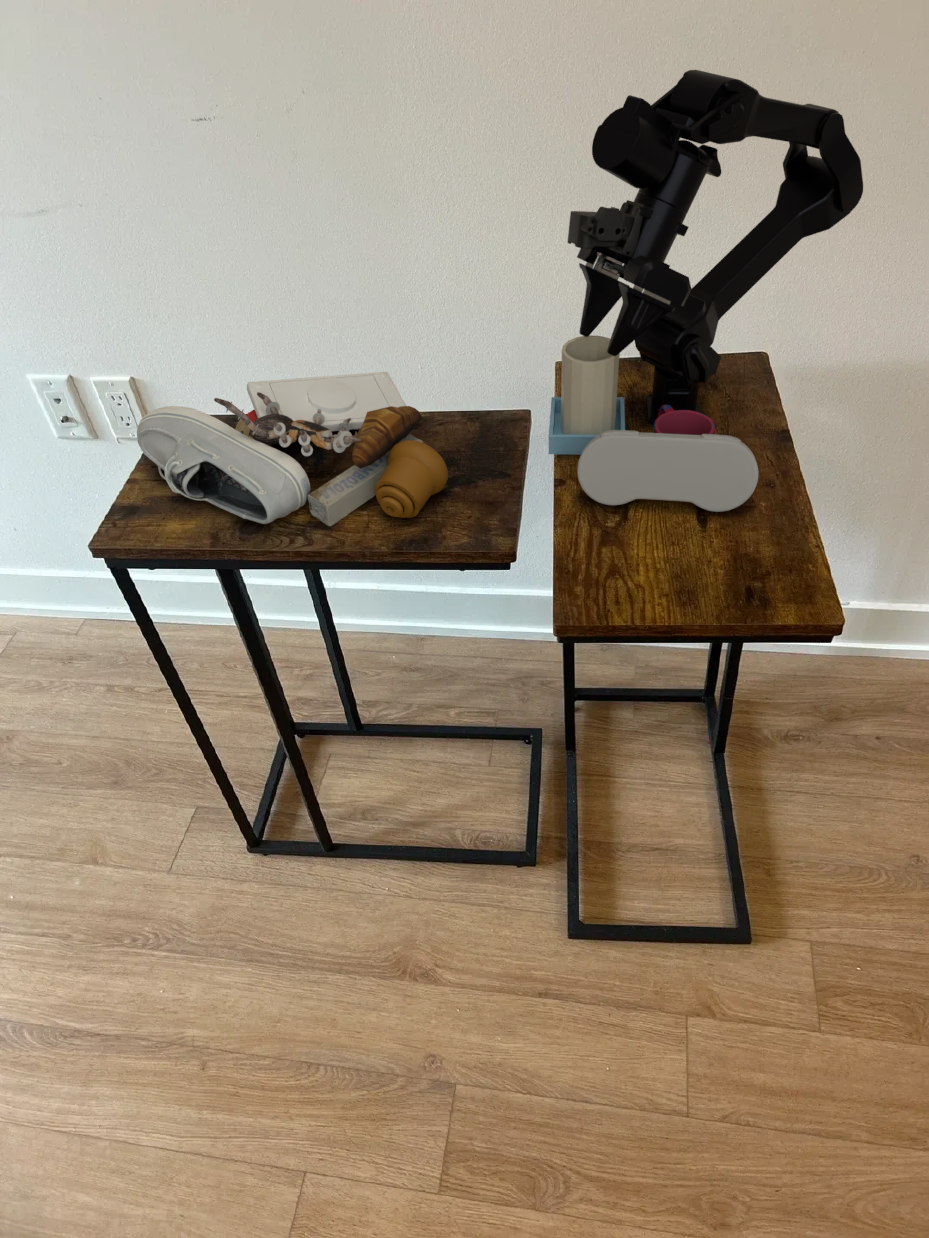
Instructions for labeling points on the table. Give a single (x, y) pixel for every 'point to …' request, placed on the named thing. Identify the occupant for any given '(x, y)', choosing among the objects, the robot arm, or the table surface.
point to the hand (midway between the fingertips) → (596, 344)
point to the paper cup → (588, 386)
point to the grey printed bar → (348, 490)
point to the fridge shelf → (575, 441)
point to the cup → (682, 422)
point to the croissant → (383, 432)
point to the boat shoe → (222, 464)
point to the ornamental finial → (410, 478)
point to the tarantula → (293, 428)
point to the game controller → (668, 469)
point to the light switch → (328, 397)
